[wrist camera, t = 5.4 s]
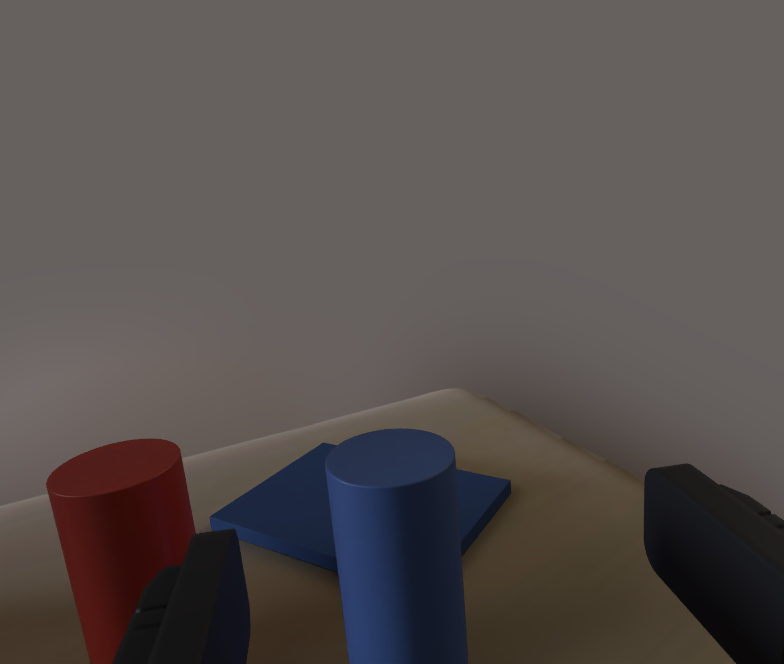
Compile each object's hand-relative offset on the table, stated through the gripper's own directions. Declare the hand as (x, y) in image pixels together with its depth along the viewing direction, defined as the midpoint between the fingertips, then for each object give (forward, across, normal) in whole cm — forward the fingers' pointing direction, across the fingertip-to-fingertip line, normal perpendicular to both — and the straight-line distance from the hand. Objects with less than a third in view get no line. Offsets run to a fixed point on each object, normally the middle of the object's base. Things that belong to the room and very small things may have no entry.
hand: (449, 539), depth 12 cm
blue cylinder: (+11, 0, +14) cm, 18 cm away
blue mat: (+26, +1, +14) cm, 30 cm away
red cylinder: (+14, +11, +14) cm, 23 cm away
